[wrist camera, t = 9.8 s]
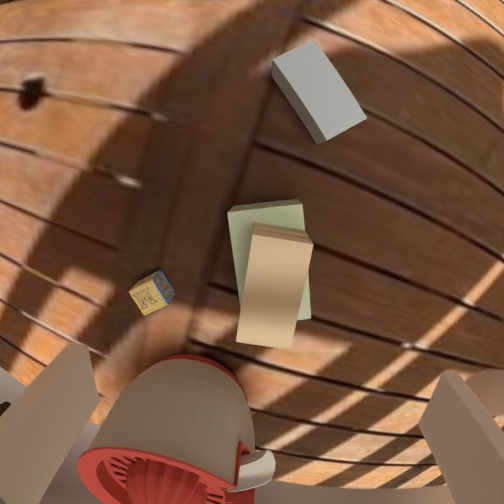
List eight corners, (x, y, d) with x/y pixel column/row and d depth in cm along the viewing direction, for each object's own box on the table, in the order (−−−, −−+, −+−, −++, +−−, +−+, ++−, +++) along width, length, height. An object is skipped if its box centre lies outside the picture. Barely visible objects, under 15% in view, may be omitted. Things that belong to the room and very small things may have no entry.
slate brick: (271, 76, 27) (272, 59, 22) (306, 58, 26) (313, 39, 21) (316, 145, 28) (327, 140, 23) (351, 126, 27) (367, 118, 23)
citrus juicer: (282, 425, 36) (287, 560, 17) (159, 433, 38) (118, 547, 19) (260, 325, 33) (253, 487, 13) (116, 342, 34) (28, 460, 15)
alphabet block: (176, 293, 32) (168, 305, 29) (153, 304, 33) (143, 316, 30) (161, 268, 32) (151, 278, 29) (138, 280, 32) (127, 290, 29)
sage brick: (233, 205, 30) (227, 212, 25) (296, 198, 30) (302, 204, 25) (246, 302, 32) (243, 325, 28) (304, 296, 32) (310, 318, 27)
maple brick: (255, 222, 25) (252, 234, 20) (304, 230, 25) (313, 244, 20) (240, 312, 27) (235, 341, 22) (285, 319, 27) (289, 349, 22)
